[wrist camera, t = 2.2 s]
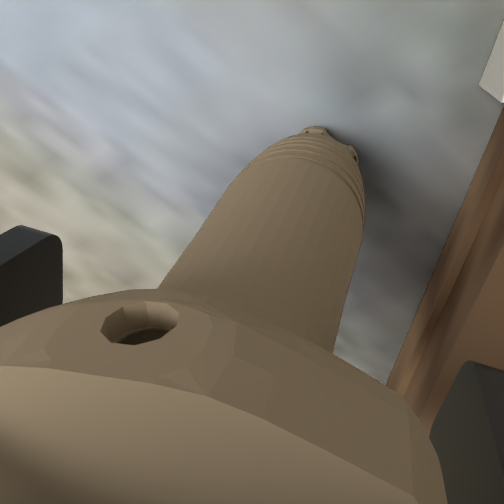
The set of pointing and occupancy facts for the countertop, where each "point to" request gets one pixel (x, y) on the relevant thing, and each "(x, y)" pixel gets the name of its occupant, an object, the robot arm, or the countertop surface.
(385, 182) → the countertop surface
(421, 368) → the slot board
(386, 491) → the handle
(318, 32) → the countertop surface
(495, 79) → the tray
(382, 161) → the countertop surface
